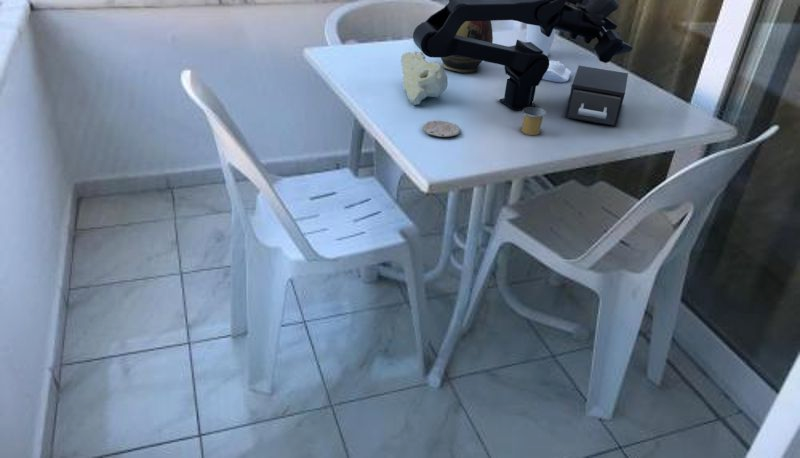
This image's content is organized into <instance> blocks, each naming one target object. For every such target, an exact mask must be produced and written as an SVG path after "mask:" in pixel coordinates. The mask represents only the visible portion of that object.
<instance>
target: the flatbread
mask: <svg viewBox="0 0 800 458" xmlns="http://www.w3.org/2000/svg"><path fill="white" fill-rule="evenodd" d="M422 129H423V131H424V132H425V133H426V134H428V135H429V136H435V137H441V138H450V137H455V136H458V135H459V134H460V127H459V126H458V124H456V123H453V122H449V121H445V120H444V121H443V120H430V121H427V122H426V123H425V124H423V127H422Z"/></svg>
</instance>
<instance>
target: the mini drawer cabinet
mask: <svg viewBox="0 0 800 458" xmlns="http://www.w3.org/2000/svg"><path fill="white" fill-rule="evenodd" d="M628 76H629V73H628V72H622V71H616V70H611V69H610V70H609V69H604V68H597V67H591V66H584V65H578V67H577V70H576V71H575V75H574V77H573V81H572V84H571V88H570V94H569V98H568V103H567V106H566V113H565V116H564V117H565V118H566V119H572V120H578V121H583V122H588V123H594V124H599V125H606V126H611V127H617V126H618V122H619V117H620V113H621V111H622V106H623V103H624V99H625V95H626V90H627V89H626V88H627V83H628ZM574 89H575V90H577V89H583V90H589V91H595V92H601V93H607V94H613V95H618V97H621V100H620V104H619V108H618V112H617V116H616V120H615V124H614V125H610V124H604V123H599V122H593V121H588V120H582V119H577V118H571V117H568V113H569V108H570V104H571V99H572V94H573V90H574Z"/></svg>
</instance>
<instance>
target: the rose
mask: <svg viewBox="0 0 800 458" xmlns="http://www.w3.org/2000/svg"><path fill="white" fill-rule="evenodd" d="M571 74H572V72H571V70H570V69H569V68H568V67H566V66H565V65H564V64H563V63H561V61H560V60H557V61H555V60H549V68H548V70H547V71H546V73H545V74H544V75H543V77H542V79H541V80H545V81H549V82H556V83H567V82H568V81H569V80H570V76H571Z"/></svg>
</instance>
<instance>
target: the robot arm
mask: <svg viewBox="0 0 800 458" xmlns="http://www.w3.org/2000/svg"><path fill="white" fill-rule="evenodd" d="M448 2H449V1H448ZM448 2H447V3H448ZM447 3H446V4H447ZM566 3H569V4H571V5H568V4H566ZM572 5H574V6H576V5H577V6H576V7H574V6H572ZM619 7H620V4H619V3H618V1H617V0H452V1H450V2H449V3H448V4H447V5H445V6H444V7H443V8H441V9H439V10H437V11H436V12H435V13H433V14H431V15H430V16H429V17H428V18H427V19H426V20H425V21H422V22H421V23H420V24H418V25H417V26H416V27H415V28H414V30H413V33H412V40H413V43H414V44H415V46H416V47H417V48H418V49H419V50H420V52H423V54H424V55H425V57H428V58H438V59H439V58H440V59H441V58H445V57H449V56H461V57H466V58H471V59H476V60H480V61H482V62H485V63H490V64H496V65H499V66H503V67H504V74H505V75H507V76H508V77H509V78H506V84H505V89H504V97H503V98H500V99H499V102H500V103H501V104H503V105H504V106H506V107H507V108H509V109H511V110H513V111H514V112H517V111H523V108H525V107H537V104H536V103H534V100H535V95H536V89H537V87H538V86H540V84H541V82H542V80H543V79H542V77H543V75H544V74H545V73H546V71H547V70H548V68H549V61H550V59H549V56H546V55H545V54H543V51H542V50H541V49H540V48H538V47H537V46H535V45H534V44H533V43H531V42H526V41H522V40H520V39H516V41H515V44H514V45H510V46H509V45H508V46H507V45H503V44H498V43H495V42H494V43H493V42H492V43H490V42H485V41H481V40H476V39H472V38H467V37H463V36H458V35H456V33H457V32H458V30H459V28H460V27H461V25H462V24H463V23H464V22H465V21H491V22H492V21H493V22H494V21H496V22H497V21H515V22H519V23H523V24H525V25H527V24H531V25H536V26H540V30H541V33H543V34H544V35H546V36H547V37H550V35H551V33H552V31H553V29H555V30H556V31H558V32H562V33H565V34H567V35H569V36H570V38H571V39H573V40H576V39H577V38H580V39H582V40H583V42H585V44H590V43H591V42H592V41H593V40H595V39H597V43H596V44H595V46H594V47H593V52H594V55H595V56H596V57H597V59H598V61H599V62H601V63H605V64H608V63H610V62H611V60H612V58H613V57H615V56H618V55H622V54H626V53H630V52H631V51H633V49H634V47H633V46H632V45H630V44H629V43H627V42H625V41H624V40H623V37H622V36H621V35H620V33H619V32H617V31H615V30H617V27H618V24H617V23H615V22H614V21H612V20H611V19H610V18H609V16H610V15H611V14H612V13H613V12H615V11H617V10H618V9H619Z"/></svg>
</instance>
